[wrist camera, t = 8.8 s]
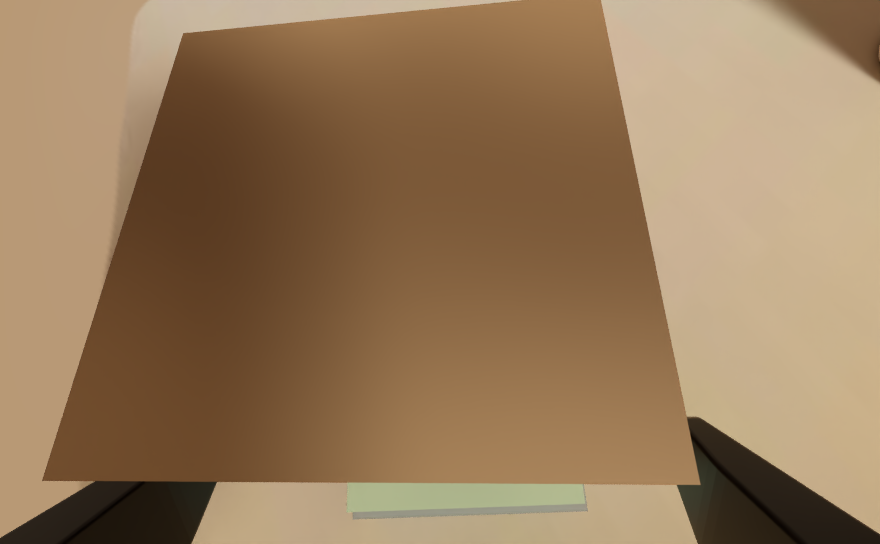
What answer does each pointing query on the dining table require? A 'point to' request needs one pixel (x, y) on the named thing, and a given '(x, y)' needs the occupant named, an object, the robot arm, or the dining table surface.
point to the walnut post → (385, 265)
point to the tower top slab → (457, 495)
